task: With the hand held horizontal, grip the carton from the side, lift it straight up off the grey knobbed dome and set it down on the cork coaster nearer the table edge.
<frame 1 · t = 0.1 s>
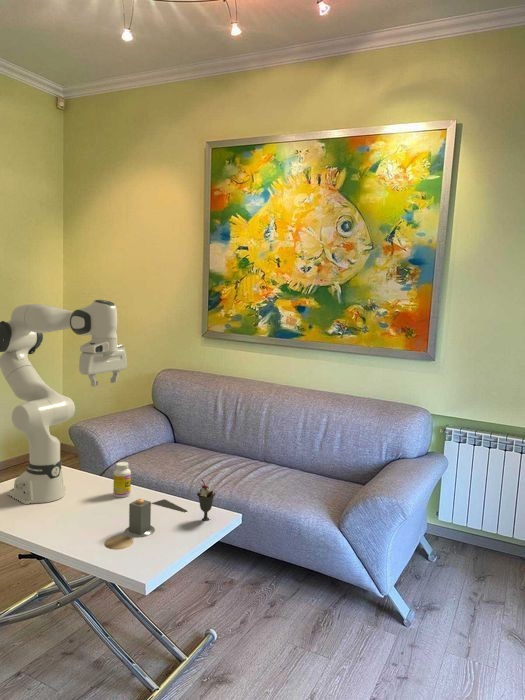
hand: (104, 384, 182), 48 cm above the table, tool pointing down, fingers open, 8 cm apart
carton: (139, 530, 173), point 1 cm above the table, touching grey knobbed dome
smartphone: (168, 509, 193), on the table
supplement bottle: (122, 495, 205), on the table
sundae: (205, 521, 183), on the table
coaster: (119, 544, 164), on the table
grey knobbed dome: (139, 532, 173), on the table
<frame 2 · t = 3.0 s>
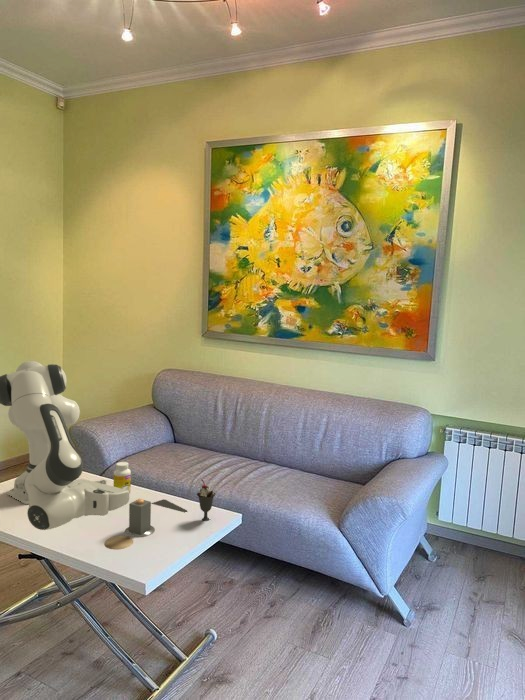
hand: (116, 485, 160), 20 cm above the table, tool horizontal, fingers open, 8 cm apart
nothing on the table moved.
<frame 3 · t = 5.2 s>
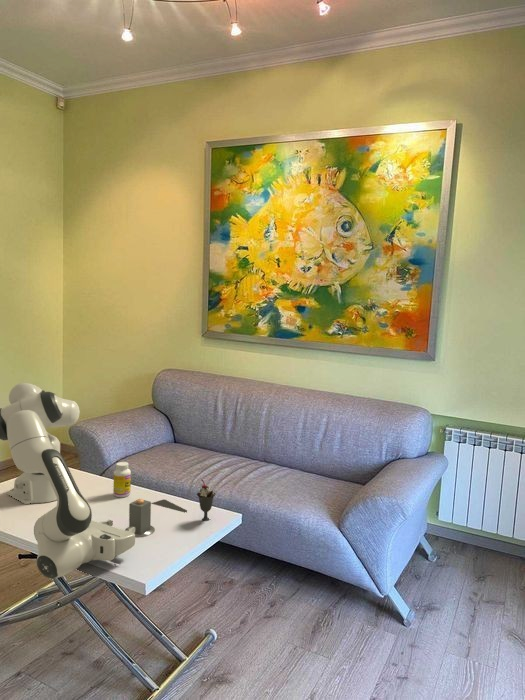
hand: (122, 525, 164), 6 cm above the table, tool horizontal, fingers open, 8 cm apart
nothing on the table moved.
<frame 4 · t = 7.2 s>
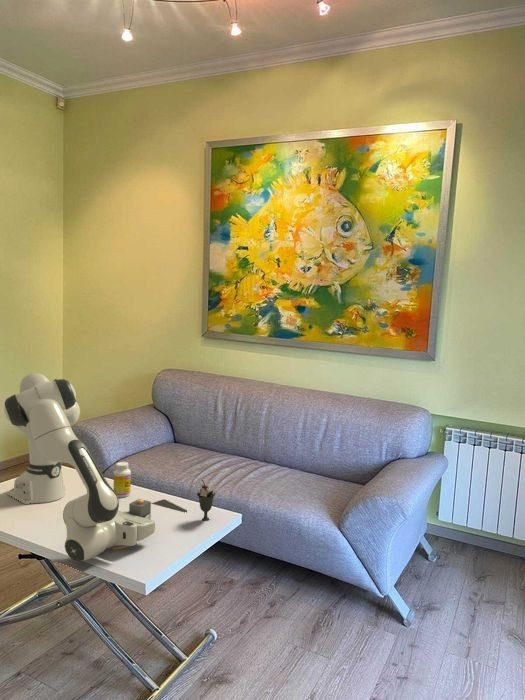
hand: (141, 514, 173), 6 cm above the table, tool horizontal, fingers closed on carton, 5 cm apart
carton: (139, 530, 173), point 1 cm above the table, touching gripper, grey knobbed dome
everything else where it was.
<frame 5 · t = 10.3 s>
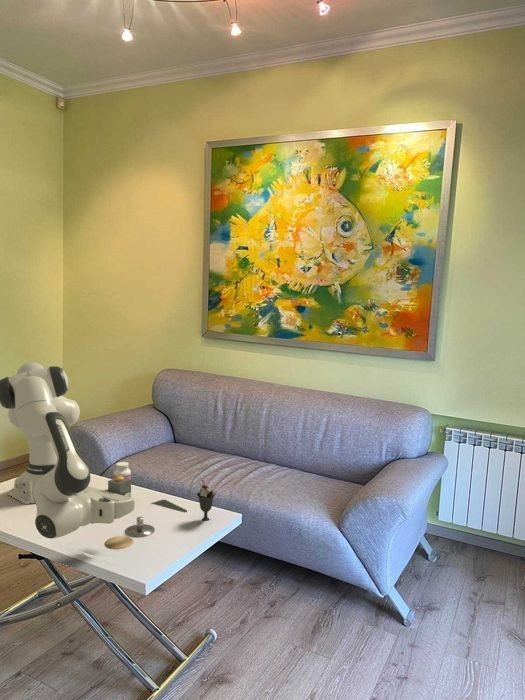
hand: (121, 492, 163), 17 cm above the table, tool horizontal, fingers closed on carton, 5 cm apart
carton: (119, 509, 163), point 12 cm above the table, touching gripper
everything else where it was.
when the fingers open (8 cm above the table, at t = 12.9 s): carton drops 2 cm, resting on coaster.
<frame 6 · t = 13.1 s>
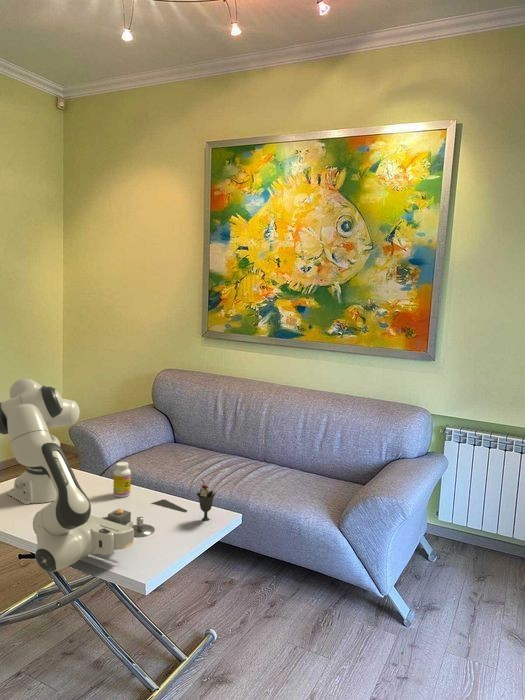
hand: (121, 520, 164), 8 cm above the table, tool horizontal, fingers open, 7 cm apart
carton: (118, 542, 164), point 1 cm above the table, touching coaster
everything else where it was.
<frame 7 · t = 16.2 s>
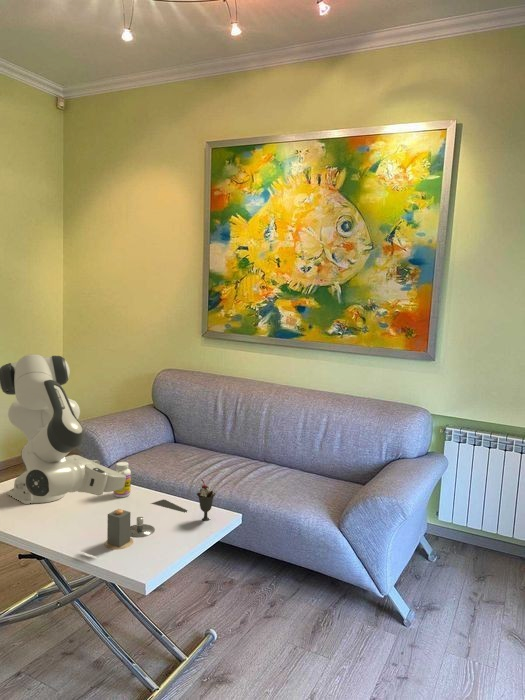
hand: (110, 468, 158), 26 cm above the table, tool horizontal, fingers open, 8 cm apart
nothing on the table moved.
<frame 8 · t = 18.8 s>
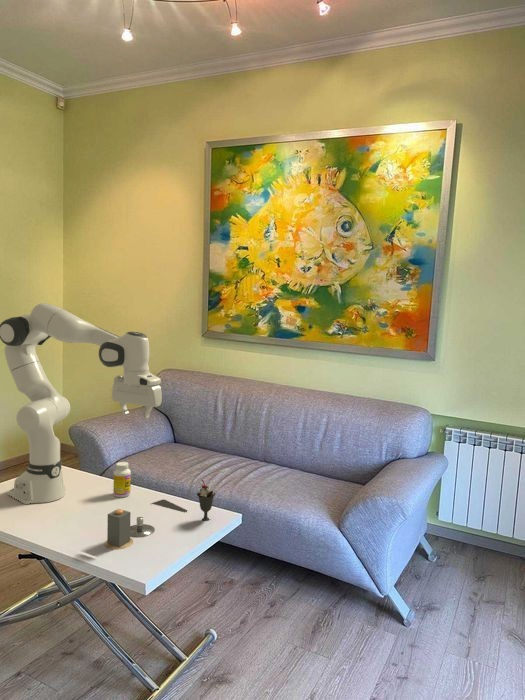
hand: (136, 416, 182), 37 cm above the table, tool pointing down, fingers open, 8 cm apart
nothing on the table moved.
at the end: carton inside the target area on the coaster (0.1 cm from its centre), point 0.6 cm above the coaster's base; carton tilted 0°; the gripper is holding nothing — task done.
